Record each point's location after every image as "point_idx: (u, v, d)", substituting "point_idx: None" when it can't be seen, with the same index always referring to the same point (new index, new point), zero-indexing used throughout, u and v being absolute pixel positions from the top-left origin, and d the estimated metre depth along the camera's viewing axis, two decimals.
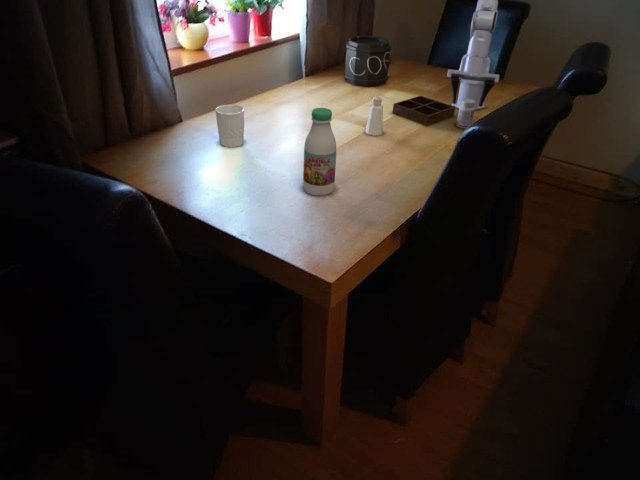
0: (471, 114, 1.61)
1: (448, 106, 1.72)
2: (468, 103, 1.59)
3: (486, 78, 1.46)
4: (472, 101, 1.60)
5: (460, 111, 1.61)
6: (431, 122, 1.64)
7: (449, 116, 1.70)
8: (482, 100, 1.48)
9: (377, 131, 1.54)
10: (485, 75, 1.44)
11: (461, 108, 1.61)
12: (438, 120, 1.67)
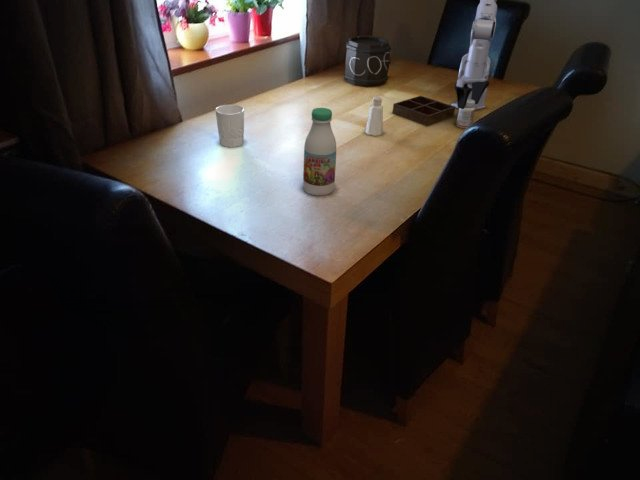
0: (471, 114, 1.61)
1: (448, 106, 1.72)
2: (468, 103, 1.59)
3: None
4: (472, 101, 1.60)
5: (460, 111, 1.61)
6: (431, 122, 1.64)
7: (449, 116, 1.70)
8: (479, 98, 1.61)
9: (377, 131, 1.54)
10: (484, 77, 1.57)
11: None
12: (438, 120, 1.67)
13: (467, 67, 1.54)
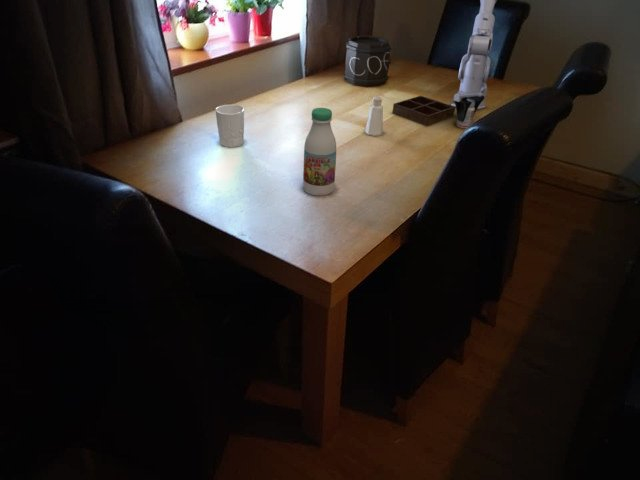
0: (471, 114, 1.61)
1: (448, 106, 1.72)
2: None
3: None
4: (472, 101, 1.60)
5: None
6: (431, 122, 1.64)
7: (449, 116, 1.70)
8: (474, 112, 1.63)
9: (377, 131, 1.54)
10: (481, 91, 1.59)
11: None
12: (438, 120, 1.67)
13: (464, 82, 1.56)
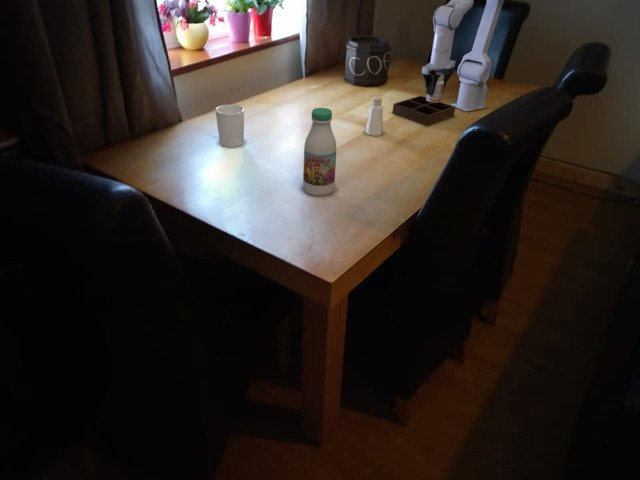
0: (440, 88, 1.60)
1: (448, 106, 1.72)
2: None
3: None
4: (441, 74, 1.59)
5: None
6: (431, 122, 1.64)
7: (449, 116, 1.70)
8: (444, 86, 1.62)
9: (377, 131, 1.54)
10: (450, 64, 1.58)
11: None
12: (438, 120, 1.67)
13: (432, 54, 1.55)
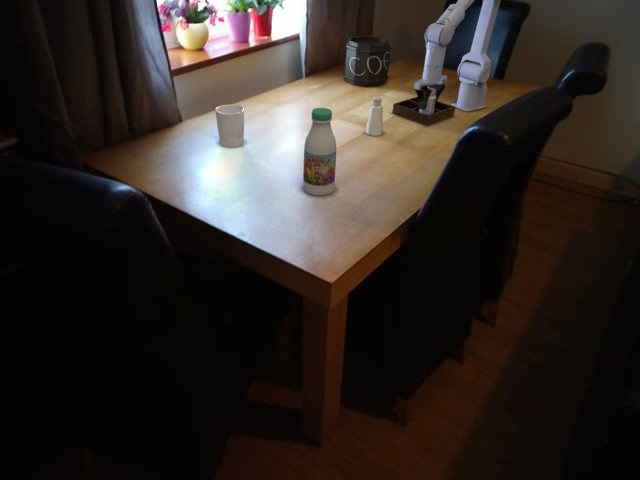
0: (432, 102, 1.63)
1: (448, 106, 1.72)
2: None
3: None
4: (433, 89, 1.62)
5: None
6: (431, 122, 1.64)
7: (449, 116, 1.70)
8: (436, 101, 1.65)
9: (377, 131, 1.54)
10: (442, 79, 1.61)
11: None
12: (438, 120, 1.67)
13: (424, 70, 1.58)
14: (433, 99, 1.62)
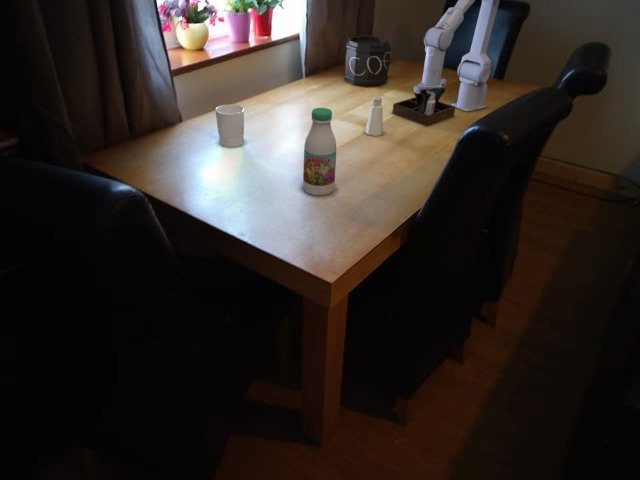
0: (432, 106, 1.64)
1: (448, 106, 1.72)
2: None
3: None
4: (432, 94, 1.63)
5: None
6: (431, 122, 1.64)
7: (449, 116, 1.70)
8: (436, 104, 1.66)
9: (377, 131, 1.54)
10: (442, 83, 1.62)
11: None
12: (438, 120, 1.67)
13: (424, 74, 1.59)
14: (432, 103, 1.63)
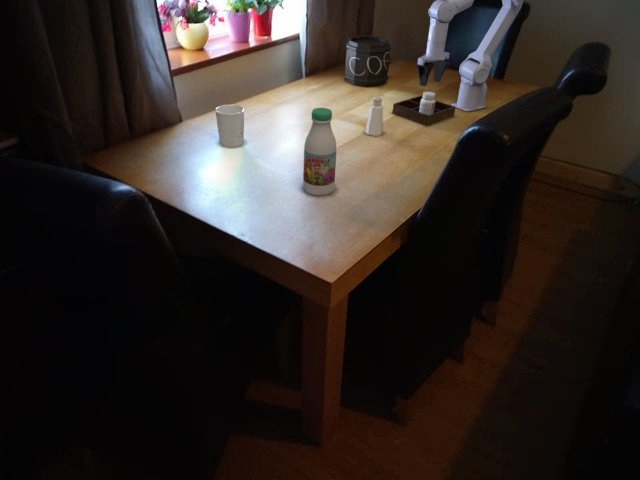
0: (432, 106, 1.64)
1: (448, 106, 1.72)
2: (428, 95, 1.62)
3: None
4: (432, 94, 1.63)
5: (421, 104, 1.64)
6: (431, 122, 1.64)
7: (449, 116, 1.70)
8: (441, 76, 1.71)
9: (377, 131, 1.54)
10: (445, 56, 1.67)
11: (422, 101, 1.64)
12: (438, 120, 1.67)
13: (428, 46, 1.63)
14: (432, 103, 1.63)
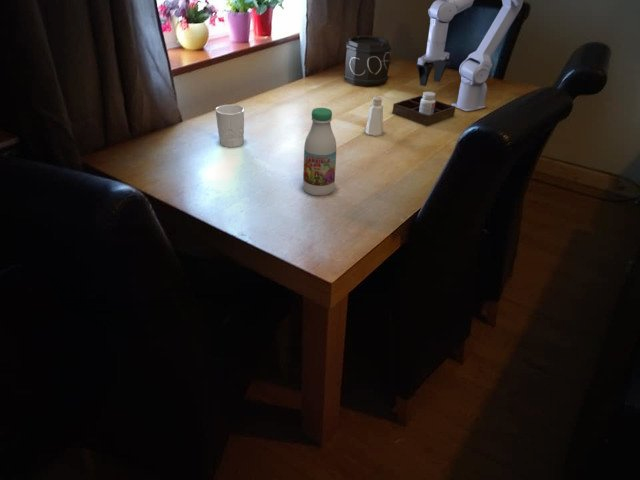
0: (432, 106, 1.64)
1: (448, 106, 1.72)
2: (428, 95, 1.62)
3: None
4: (432, 94, 1.63)
5: (421, 104, 1.64)
6: (431, 122, 1.64)
7: (449, 116, 1.70)
8: (441, 76, 1.71)
9: (377, 131, 1.54)
10: (445, 56, 1.67)
11: (422, 101, 1.64)
12: (438, 120, 1.67)
13: (428, 46, 1.63)
14: (432, 103, 1.63)
